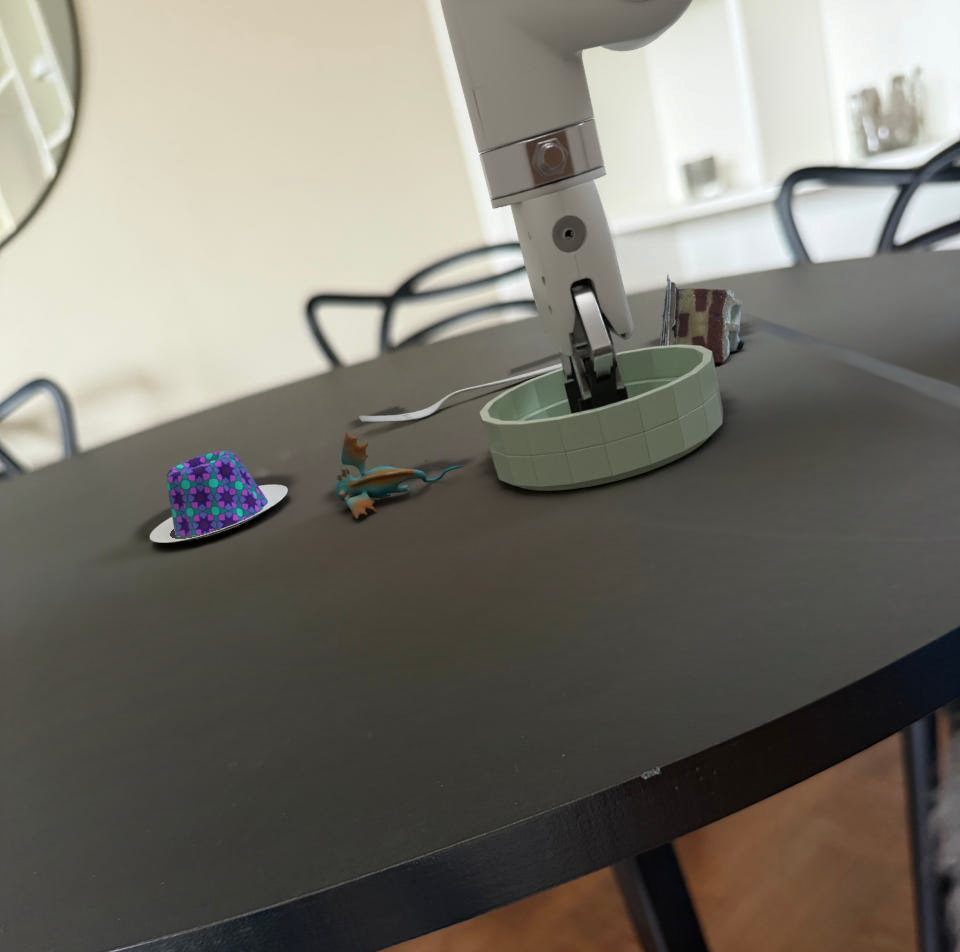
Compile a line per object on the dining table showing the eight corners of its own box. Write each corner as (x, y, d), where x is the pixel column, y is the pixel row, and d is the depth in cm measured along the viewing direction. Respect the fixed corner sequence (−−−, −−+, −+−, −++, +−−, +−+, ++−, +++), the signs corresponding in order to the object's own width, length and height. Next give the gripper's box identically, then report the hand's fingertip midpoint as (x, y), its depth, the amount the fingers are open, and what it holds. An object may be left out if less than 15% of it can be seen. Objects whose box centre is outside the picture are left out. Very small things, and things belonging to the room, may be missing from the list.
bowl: (689, 397, 80) (676, 333, 78) (756, 443, 65) (743, 366, 63) (489, 456, 81) (472, 394, 78) (511, 516, 66) (490, 441, 64)
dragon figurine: (415, 456, 83) (321, 452, 79) (457, 423, 76) (358, 417, 72) (425, 535, 82) (331, 535, 78) (469, 508, 75) (369, 507, 71)
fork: (595, 360, 103) (591, 342, 102) (367, 438, 99) (361, 420, 99) (584, 357, 105) (580, 340, 105) (362, 433, 102) (356, 416, 102)
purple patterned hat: (318, 488, 86) (297, 429, 84) (218, 549, 78) (191, 485, 76) (226, 496, 94) (204, 442, 92) (124, 552, 85) (98, 494, 83)
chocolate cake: (748, 369, 84) (753, 245, 87) (661, 365, 85) (670, 242, 88) (732, 426, 93) (737, 311, 96) (653, 421, 94) (661, 308, 97)
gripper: (629, 145, 57) (689, 453, 65) (578, 155, 73) (631, 402, 80) (499, 184, 57) (574, 487, 65) (476, 186, 73) (539, 429, 80)
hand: (605, 437), depth 72 cm, fingers open, 5 cm apart
